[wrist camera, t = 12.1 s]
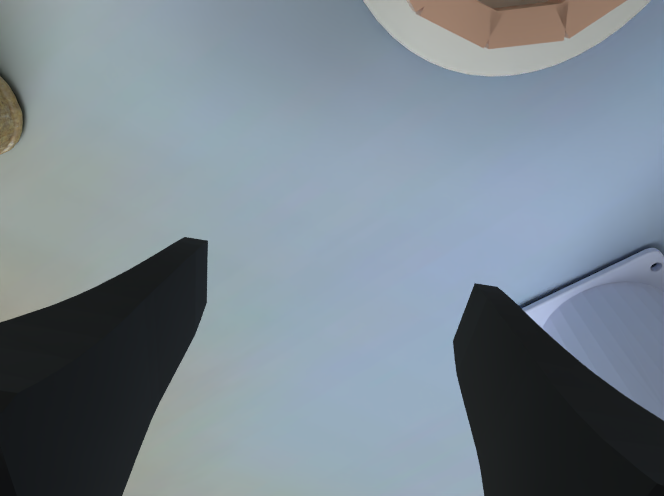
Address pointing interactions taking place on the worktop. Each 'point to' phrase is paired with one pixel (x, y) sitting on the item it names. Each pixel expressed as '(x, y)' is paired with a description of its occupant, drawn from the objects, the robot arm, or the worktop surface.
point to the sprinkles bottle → (9, 118)
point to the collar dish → (495, 56)
